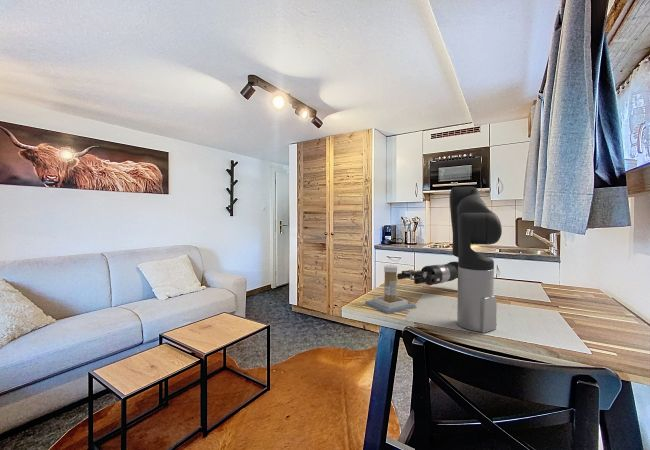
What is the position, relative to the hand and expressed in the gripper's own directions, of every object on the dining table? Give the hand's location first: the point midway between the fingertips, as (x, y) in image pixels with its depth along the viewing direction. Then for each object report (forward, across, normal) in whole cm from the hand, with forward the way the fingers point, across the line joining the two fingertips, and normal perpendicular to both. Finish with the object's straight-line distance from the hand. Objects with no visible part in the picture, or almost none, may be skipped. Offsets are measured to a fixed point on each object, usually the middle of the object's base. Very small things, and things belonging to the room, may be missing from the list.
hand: (406, 278), depth 103 cm
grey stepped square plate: (+8, 0, +9) cm, 12 cm away
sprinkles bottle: (+8, 0, +8) cm, 11 cm away
